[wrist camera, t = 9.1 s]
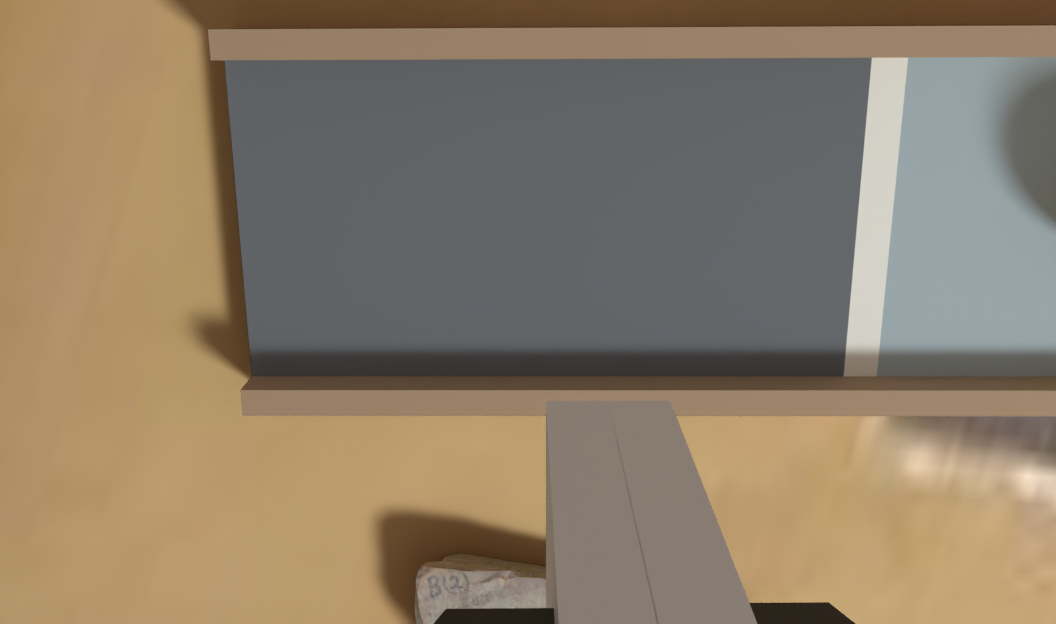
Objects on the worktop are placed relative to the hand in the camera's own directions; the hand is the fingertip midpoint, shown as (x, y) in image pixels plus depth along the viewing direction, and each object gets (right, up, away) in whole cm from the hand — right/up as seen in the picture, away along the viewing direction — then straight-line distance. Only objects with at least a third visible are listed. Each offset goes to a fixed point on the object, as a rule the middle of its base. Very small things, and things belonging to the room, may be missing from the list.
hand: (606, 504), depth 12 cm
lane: (+7, +5, +18) cm, 19 cm away
